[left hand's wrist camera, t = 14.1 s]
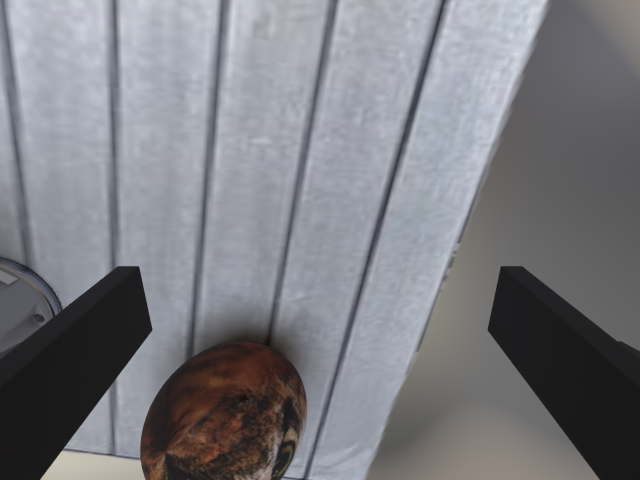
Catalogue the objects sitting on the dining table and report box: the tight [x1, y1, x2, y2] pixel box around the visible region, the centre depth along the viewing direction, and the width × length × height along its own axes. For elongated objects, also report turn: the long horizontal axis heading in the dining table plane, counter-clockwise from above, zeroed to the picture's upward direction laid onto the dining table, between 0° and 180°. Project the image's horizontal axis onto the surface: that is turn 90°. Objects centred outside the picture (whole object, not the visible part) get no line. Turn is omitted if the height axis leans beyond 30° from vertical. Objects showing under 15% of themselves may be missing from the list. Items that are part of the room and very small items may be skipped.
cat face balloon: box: [140, 341, 307, 480], centre depth 43 cm, size 22×18×20 cm
